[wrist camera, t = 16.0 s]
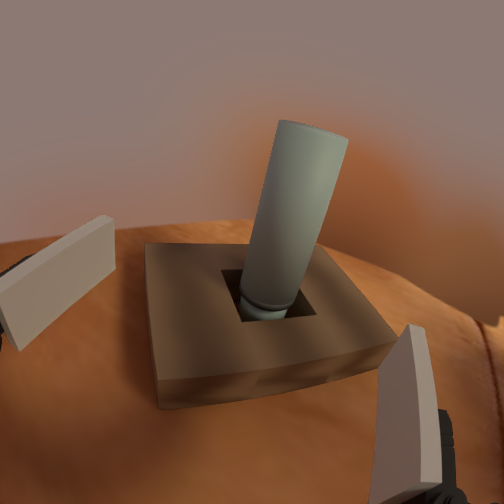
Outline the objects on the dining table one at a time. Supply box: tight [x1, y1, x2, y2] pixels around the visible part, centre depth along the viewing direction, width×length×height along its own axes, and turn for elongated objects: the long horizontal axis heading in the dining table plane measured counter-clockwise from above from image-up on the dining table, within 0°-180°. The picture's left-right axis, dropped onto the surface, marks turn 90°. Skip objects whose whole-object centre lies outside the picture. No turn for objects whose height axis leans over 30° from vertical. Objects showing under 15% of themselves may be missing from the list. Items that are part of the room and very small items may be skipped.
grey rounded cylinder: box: [238, 120, 349, 322], centre depth 21 cm, size 4×4×16 cm
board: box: [144, 243, 399, 410], centre depth 24 cm, size 18×14×4 cm
